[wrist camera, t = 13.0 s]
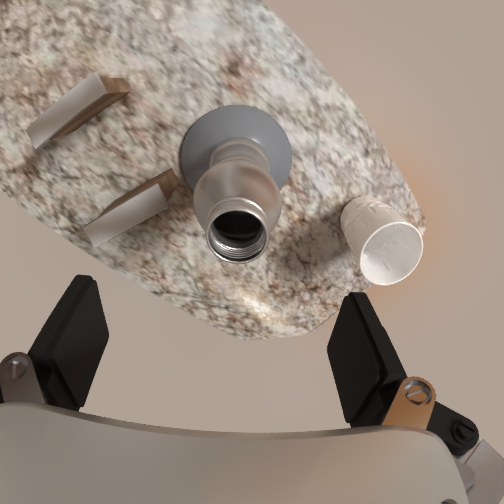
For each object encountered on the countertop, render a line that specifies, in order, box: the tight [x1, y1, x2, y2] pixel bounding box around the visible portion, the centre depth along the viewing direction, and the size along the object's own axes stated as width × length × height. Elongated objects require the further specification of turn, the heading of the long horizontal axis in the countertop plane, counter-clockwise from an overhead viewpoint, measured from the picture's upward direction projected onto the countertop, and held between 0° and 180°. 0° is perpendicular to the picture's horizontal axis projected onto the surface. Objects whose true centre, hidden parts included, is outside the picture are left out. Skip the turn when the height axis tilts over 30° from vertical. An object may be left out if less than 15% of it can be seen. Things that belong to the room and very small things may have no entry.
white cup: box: [340, 195, 423, 285], centre depth 36 cm, size 8×8×10 cm
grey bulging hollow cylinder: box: [193, 137, 282, 264], centre depth 27 cm, size 6×7×20 cm
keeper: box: [26, 72, 179, 248], centre depth 31 cm, size 16×10×9 cm, turn 25°
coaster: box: [181, 105, 292, 192], centre depth 36 cm, size 13×13×1 cm
